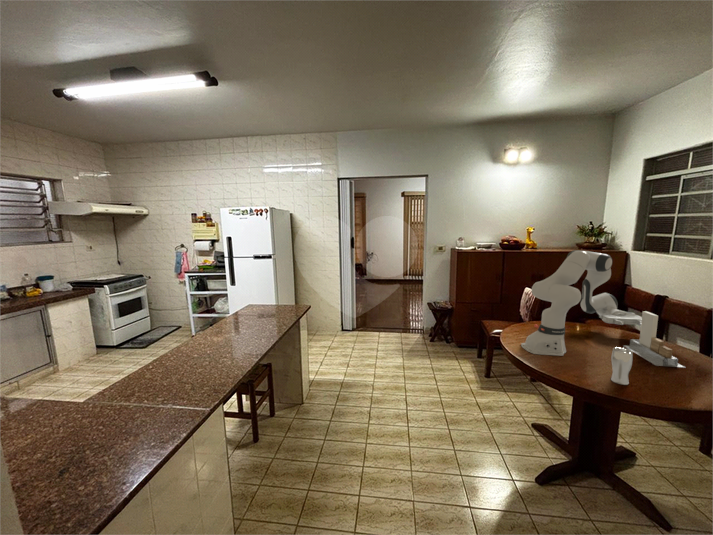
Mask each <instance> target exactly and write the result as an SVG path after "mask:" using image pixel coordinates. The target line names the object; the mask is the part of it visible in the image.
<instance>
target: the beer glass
mask: <svg viewBox="0 0 713 535" xmlns="http://www.w3.org/2000/svg"><path fill="white" fill-rule="evenodd" d="M633 353H634V352H633V351H631V350H629V349H628V348H626V347H617V346H616V347H613V348H612V353H611V368H612V374H611V378H610V380H611V381H612V382H613V383H615V384H618V385H623V386H628V385H629V384H630V382H629V381H630V380H629V375H630V371H631V369H632V366H633V360H634V359H633V357H634V355H633Z"/></svg>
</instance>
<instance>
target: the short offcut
mask: <svg viewBox="0 0 713 535" xmlns="http://www.w3.org/2000/svg"><path fill="white" fill-rule="evenodd" d="M659 354H661V355H663V356H664V357H666V358H672V356H673V349H672V348H670V347H667V346H666V345H664V346H660V347H659Z"/></svg>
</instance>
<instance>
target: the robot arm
mask: <svg viewBox="0 0 713 535" xmlns="http://www.w3.org/2000/svg"><path fill="white" fill-rule="evenodd" d="M566 255H567V256H566V258H565V259H564V261H563V262H562V264H561V265H560V266H559V267H558V269H556V271H555V272H554V273H553V274H551V275H550V276H548V277H546V278H545V279H542V280H540V281H536V282H535V283H533V285H532V286H531V289H530V290H531V291H530V292H531V294H532V296H533V297H535V298H537V299H539V300H540V301H541V300H542V301H545V302H550V303H551V306H550V307H548V308H545V309H543V310H542V313H541V322H540V324H536V323H535V324H534V325H533V326H534V328H535V329H537V330H536V331H534V332H532V333H531V334H529V335H528V336H527V337H526V340H525V342H521V343H520V346H521V348H522V349H524V350H525V351H526V352H529V353H531V354H534V355H543V356H557V357H564V355H565V354H566V353H567V348H566V343H565V334H566V327H565V326H566V325H565V324H566V317H567V313H568V312H569V310H570V309H571V308H572V307H574V306H576V305H578V304H579V303H580V307H581V310H582V311H583V312H585V313H587V314H594V313H596V314H597V315H598V318H600V319H601V320H602V321H603V322H604V323H606V324H613V325H621V326H624V325H635V326H637V325H638V326H640V327H641V321H642V316H640V315H638V314H636V313H635V312H630V311H625V310H621V309H618V308H619V307H618V305H619V303H618V300H617V298H616V297H615V296H614V295H613V294H610V293H608V292H602V293H599V294H596V295H594V296H593V292H594V290H595V289H596V288H598V287H599V286H601V285H603V284H605V283H606V282H608V281H609V280H610V279H611V276H612V269H611V268H612V266H613V257H611V255H610V254H607V253H601V252H596V251H595V252H594V251H589V250H578V249H576V250H575V249H574V250H572V251H570V252H568V254H566ZM585 271H587V274H586V276H585V278H584V280H583V281H582V285H581V286H582V287H581V291H580V289H579V288H577V287H574V286H571V285H573V284H576V283H578V281H579V280H580V278H581V277H582V276H583V274H584V272H585Z"/></svg>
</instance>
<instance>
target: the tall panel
mask: <svg viewBox="0 0 713 535" xmlns="http://www.w3.org/2000/svg"><path fill="white" fill-rule="evenodd" d="M641 317H642V321H641V326H640V332H639V339H638V340H639V343H640V344H642V345H644V346H646V347H648V348H650V349H651V342H652V338H657V331H658V330H657V329H658V323H659V322H658V321H659V315H657V314H655V313H653V312H650V311H647V310H645V311H643V310H642V316H641Z"/></svg>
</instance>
